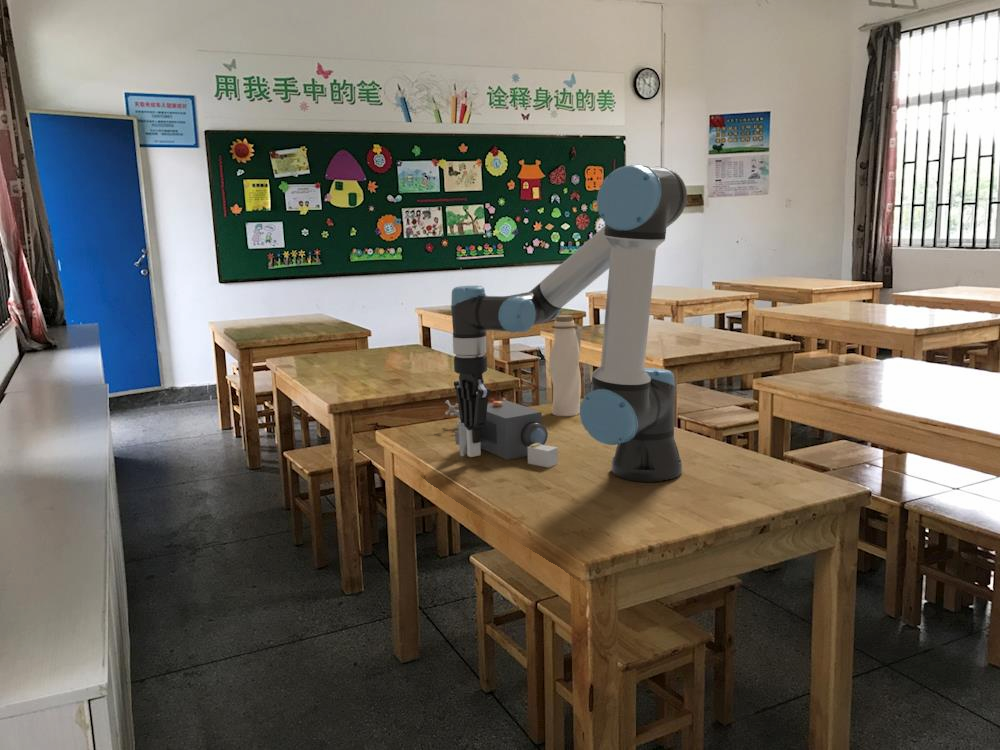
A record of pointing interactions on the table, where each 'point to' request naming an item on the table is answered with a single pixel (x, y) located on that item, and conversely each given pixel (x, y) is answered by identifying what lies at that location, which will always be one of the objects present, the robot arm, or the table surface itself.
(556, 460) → the block
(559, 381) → the water bottle
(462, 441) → the side door
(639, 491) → the table surface
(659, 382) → the robot arm
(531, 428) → the grey box
